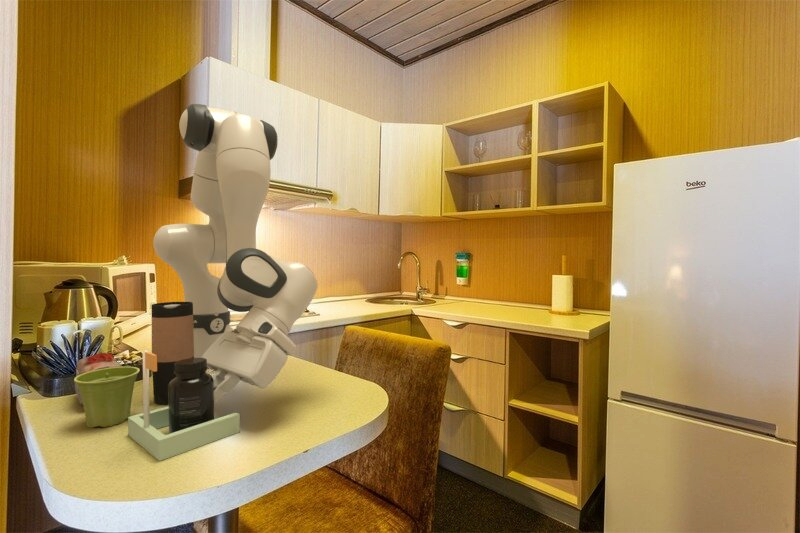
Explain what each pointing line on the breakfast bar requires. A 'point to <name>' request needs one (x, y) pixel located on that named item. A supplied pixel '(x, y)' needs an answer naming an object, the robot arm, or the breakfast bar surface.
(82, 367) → the food item
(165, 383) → the travel mug
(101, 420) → the plant pot
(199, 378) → the supplement bottle
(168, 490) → the breakfast bar surface
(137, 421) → the u-shaped flag stand
